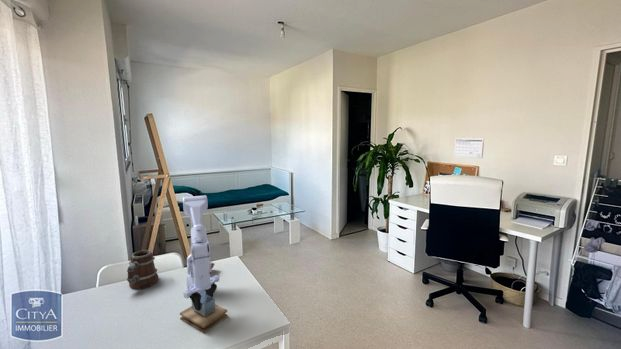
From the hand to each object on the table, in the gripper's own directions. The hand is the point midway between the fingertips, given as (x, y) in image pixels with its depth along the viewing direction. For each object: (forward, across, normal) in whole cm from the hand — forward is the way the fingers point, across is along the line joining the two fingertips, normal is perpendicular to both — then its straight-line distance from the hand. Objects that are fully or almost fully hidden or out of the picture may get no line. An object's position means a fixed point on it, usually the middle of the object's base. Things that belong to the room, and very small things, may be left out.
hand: (203, 306), depth 108 cm
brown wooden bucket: (+5, 0, +45) cm, 46 cm away
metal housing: (+2, 0, 0) cm, 2 cm away
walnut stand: (+5, 0, 0) cm, 5 cm away
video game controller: (+5, +23, +28) cm, 37 cm away
